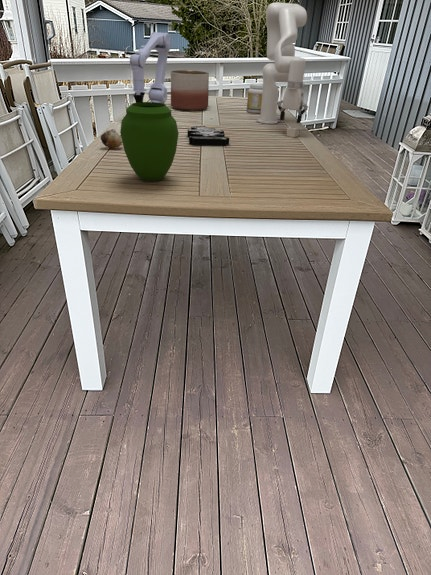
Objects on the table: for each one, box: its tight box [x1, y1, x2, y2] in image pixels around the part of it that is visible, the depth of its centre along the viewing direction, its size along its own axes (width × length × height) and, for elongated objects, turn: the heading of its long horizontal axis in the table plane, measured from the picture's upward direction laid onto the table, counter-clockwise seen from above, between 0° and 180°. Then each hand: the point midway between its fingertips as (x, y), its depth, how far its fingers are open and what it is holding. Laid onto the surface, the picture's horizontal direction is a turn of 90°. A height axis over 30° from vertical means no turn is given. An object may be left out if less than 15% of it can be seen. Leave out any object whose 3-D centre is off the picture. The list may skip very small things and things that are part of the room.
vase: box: [119, 101, 179, 182], centre depth 140 cm, size 20×20×24 cm
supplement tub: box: [246, 83, 263, 114], centre depth 274 cm, size 12×12×17 cm
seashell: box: [100, 128, 123, 149], centre depth 178 cm, size 10×6×8 cm, turn 91°
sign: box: [187, 125, 230, 147], centre depth 203 cm, size 19×3×30 cm
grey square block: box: [286, 126, 300, 138], centre depth 218 cm, size 5×5×4 cm
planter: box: [170, 69, 210, 112], centre depth 273 cm, size 25×25×22 cm
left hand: (139, 107), depth 226 cm, fingers open, 7 cm apart
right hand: (290, 121), depth 216 cm, fingers open, 9 cm apart
